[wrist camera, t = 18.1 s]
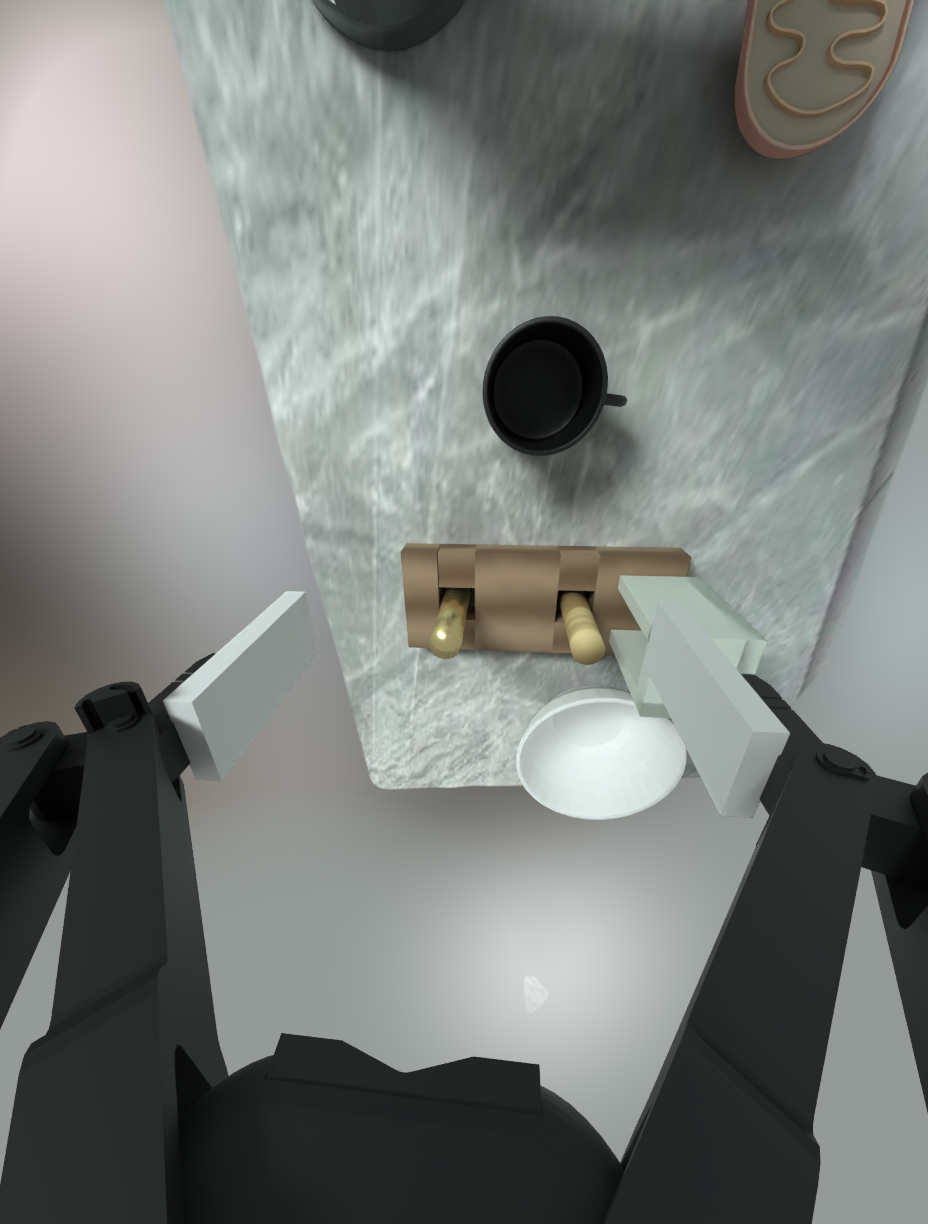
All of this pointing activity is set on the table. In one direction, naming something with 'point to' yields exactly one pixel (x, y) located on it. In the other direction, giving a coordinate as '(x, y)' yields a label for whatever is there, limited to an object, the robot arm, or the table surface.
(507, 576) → the wooden slotted block
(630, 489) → the table surface
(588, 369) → the mug
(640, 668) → the housing
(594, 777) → the bowl
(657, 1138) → the robot arm
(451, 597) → the pin
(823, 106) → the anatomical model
